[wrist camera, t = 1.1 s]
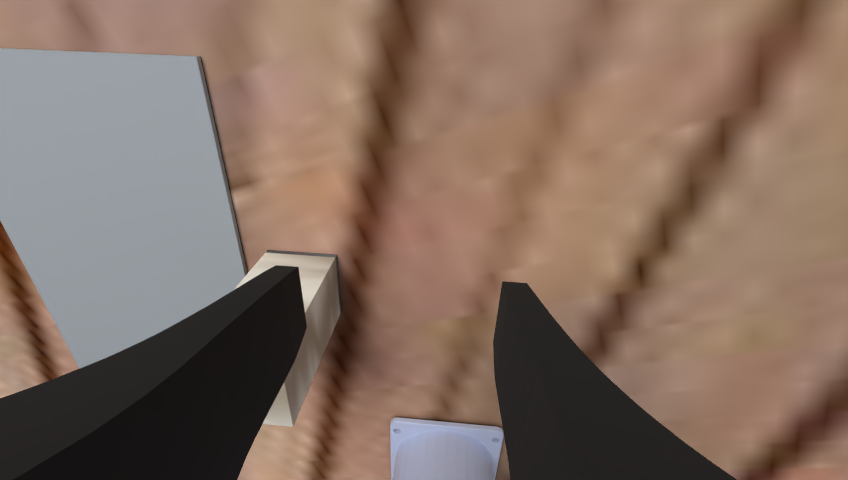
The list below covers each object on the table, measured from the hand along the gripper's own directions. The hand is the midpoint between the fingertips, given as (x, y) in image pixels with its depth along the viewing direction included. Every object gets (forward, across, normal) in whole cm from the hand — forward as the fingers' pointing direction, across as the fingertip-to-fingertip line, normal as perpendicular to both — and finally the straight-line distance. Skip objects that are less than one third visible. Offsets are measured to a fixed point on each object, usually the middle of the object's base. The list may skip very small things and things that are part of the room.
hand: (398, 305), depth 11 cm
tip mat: (+10, +18, +7) cm, 22 cm away
